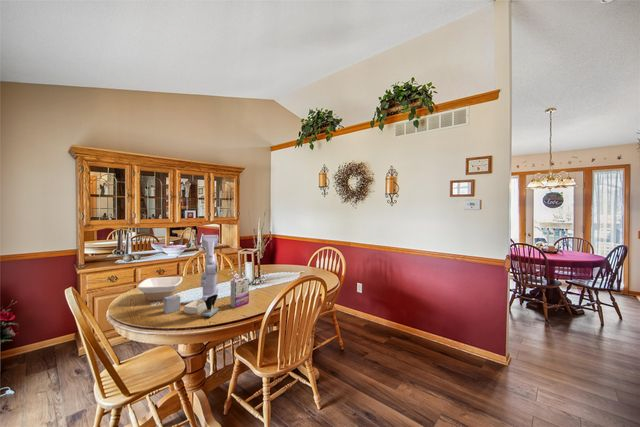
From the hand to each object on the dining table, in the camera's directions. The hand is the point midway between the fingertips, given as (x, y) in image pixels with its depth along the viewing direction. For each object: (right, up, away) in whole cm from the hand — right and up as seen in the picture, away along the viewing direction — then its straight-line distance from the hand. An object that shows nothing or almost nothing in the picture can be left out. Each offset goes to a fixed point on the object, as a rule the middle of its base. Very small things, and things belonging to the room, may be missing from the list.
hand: (210, 308), depth 157 cm
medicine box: (-24, -3, +3) cm, 24 cm away
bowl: (-43, -2, +26) cm, 51 cm away
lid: (0, -2, 0) cm, 2 cm away
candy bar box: (+12, -4, +17) cm, 21 cm away
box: (-11, -3, +7) cm, 13 cm away
